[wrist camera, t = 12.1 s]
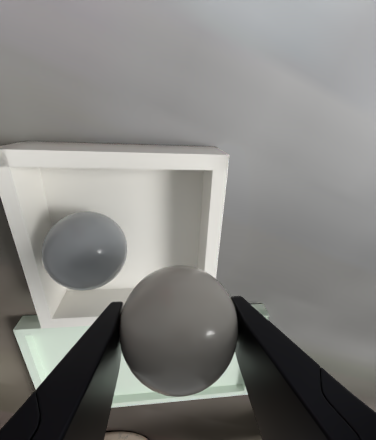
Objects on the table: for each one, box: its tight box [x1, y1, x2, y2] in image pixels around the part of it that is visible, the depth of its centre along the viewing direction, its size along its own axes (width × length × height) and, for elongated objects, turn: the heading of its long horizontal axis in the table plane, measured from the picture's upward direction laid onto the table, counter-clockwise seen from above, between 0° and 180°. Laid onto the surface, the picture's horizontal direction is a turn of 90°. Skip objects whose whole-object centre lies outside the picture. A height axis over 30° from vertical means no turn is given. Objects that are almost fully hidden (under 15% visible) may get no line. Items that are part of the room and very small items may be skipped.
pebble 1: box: [42, 211, 127, 291], centre depth 12 cm, size 4×4×4 cm
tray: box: [13, 304, 269, 408], centre depth 19 cm, size 10×18×1 cm, turn 87°
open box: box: [0, 141, 230, 328], centre depth 13 cm, size 10×10×3 cm
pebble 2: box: [119, 265, 238, 397], centre depth 8 cm, size 4×4×4 cm
